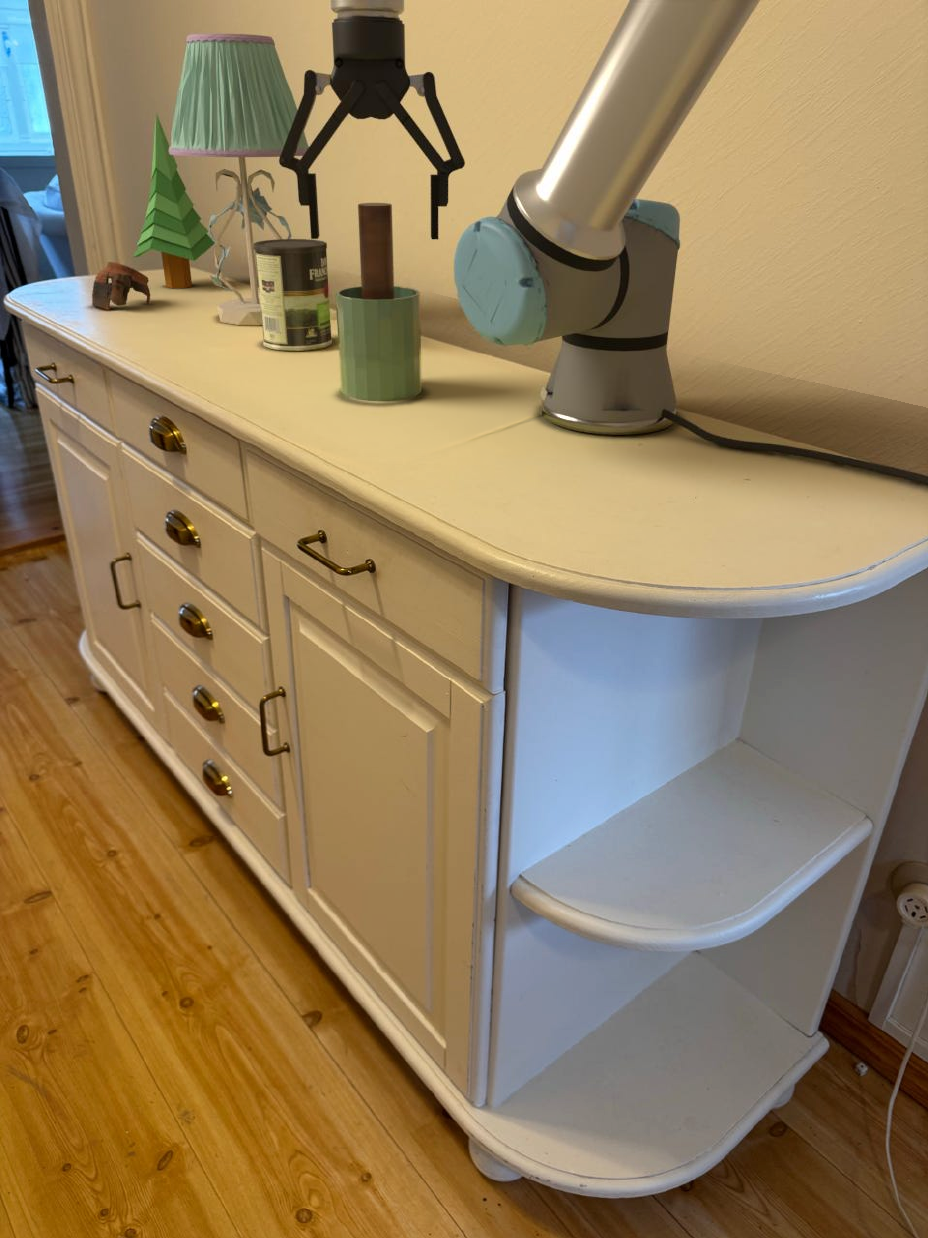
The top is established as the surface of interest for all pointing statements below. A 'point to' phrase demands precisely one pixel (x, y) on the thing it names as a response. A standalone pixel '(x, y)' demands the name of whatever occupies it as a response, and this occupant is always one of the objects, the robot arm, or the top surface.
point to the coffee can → (293, 294)
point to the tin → (379, 344)
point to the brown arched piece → (117, 285)
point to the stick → (376, 250)
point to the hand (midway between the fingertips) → (375, 237)
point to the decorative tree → (171, 218)
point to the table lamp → (235, 133)
